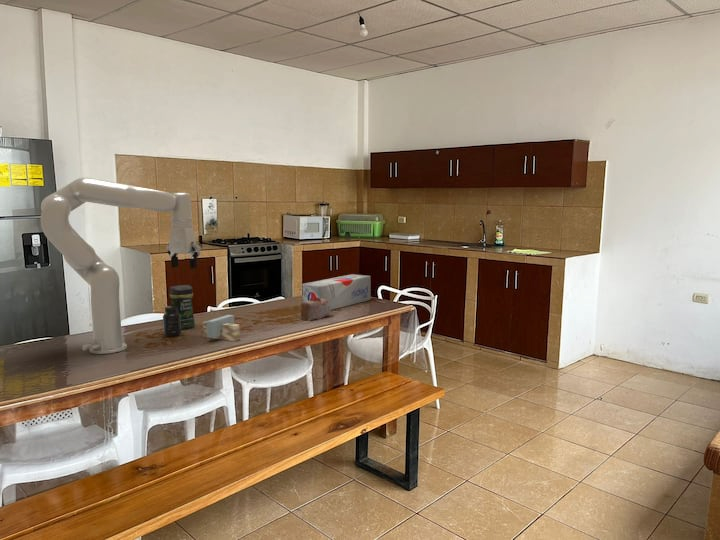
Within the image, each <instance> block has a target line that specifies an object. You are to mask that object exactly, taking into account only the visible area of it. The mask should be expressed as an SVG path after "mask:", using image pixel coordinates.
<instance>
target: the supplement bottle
mask: <svg viewBox="0 0 720 540" xmlns="http://www.w3.org/2000/svg"><path fill="white" fill-rule="evenodd" d="M177 311H178V309H177V306H172V305H168V306H165V307H164V314H163V316H162V323H163V324H162V325H163V336H164V337H166V338H177V337H180V336H182V329H181V316H180V313H178V312H177Z"/></svg>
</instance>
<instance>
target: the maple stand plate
mask: <svg viewBox="0 0 720 540" xmlns="http://www.w3.org/2000/svg"><path fill="white" fill-rule="evenodd" d="M206 321H207V320H206ZM206 321H202V337H204V338H207V328H206ZM222 326H223V330H220V335H221V336H218V337H216V338H215V339H217V340H224V341H231V342H232V341H233V342H236V341H240V339H241V338H240V337H241V336H240V334H241V331H240V324H239V323H238V324H236V323H234V324H230V323H226V324H223V325H222Z"/></svg>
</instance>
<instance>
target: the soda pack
mask: <svg viewBox="0 0 720 540" xmlns="http://www.w3.org/2000/svg"><path fill="white" fill-rule="evenodd" d="M371 277H372V276H371V275H365V274H364V275H363V274H356V273H355V274H354V273H351V274H347V275H342V276H341V275H340V276H337V277H331V278H326V279H321V280H316V281H312V282H311V281H310V282H306V283H305V282H304V283H302V284H301V285H302V286H301V288H302V289H301V290H302V303H303V302H306V301H310V298H312V297H314V298H315V297H318V298H320V299H326V300H327V301H328V302H329V303H330V311H332V310H335V309H340V308H344V307H348V306H353V305H357V304H359V303H364V302H367V301H371V300H372V297H371V295H372V293H371V291H372V289H371V286H372V285H371V284H372V283H371V280H372V279H371Z"/></svg>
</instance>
